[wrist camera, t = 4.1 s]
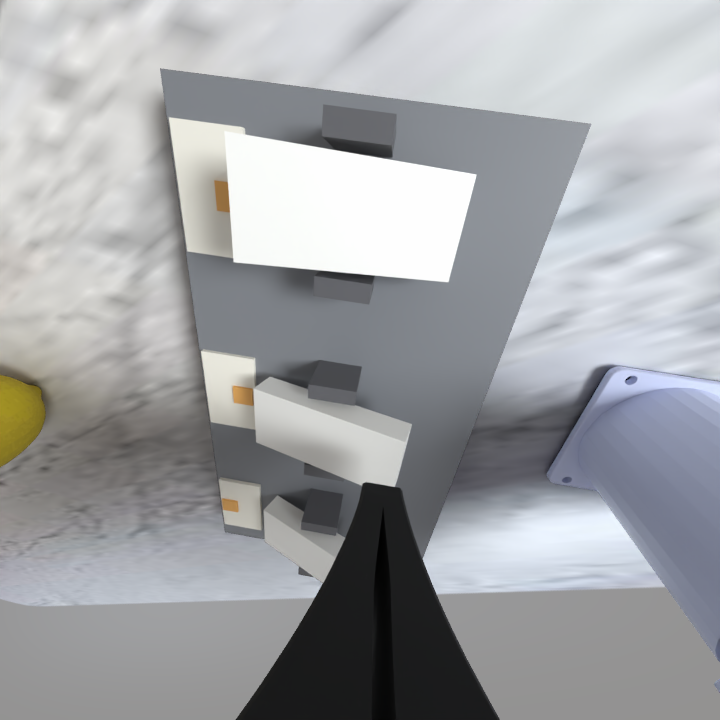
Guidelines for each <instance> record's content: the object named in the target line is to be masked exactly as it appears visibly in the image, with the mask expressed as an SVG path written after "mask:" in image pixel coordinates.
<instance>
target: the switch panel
mask: <svg viewBox="0 0 720 720" xmlns="http://www.w3.org/2000/svg"><path fill="white" fill-rule="evenodd" d="M160 71H161V79H162V86H163V93H164V100H165V107H166V114H167V121H168V129H169V136H170V143H171V150H172V157H173V164H174V171H175V179H176V186H177V193H178V200H179V207H180V214H181V221H182V228H183V236H184V243H185V250H186V257H187V264H188V271H189V278H190V286H191V293H192V300H193V307H194V314H195V321H196V328H197V336H198V343H199V350H200V357H201V364H202V371H203V378H204V386H205V393H206V400H207V407H208V414H209V421H210V428H211V435H212V443H213V450H214V457H215V464H216V471H217V478H218V485H219V493H220V500H221V507H222V514H223V521H224V528H225V532H228V533H233V534H238V535H244V536H249V537H255V538H260V539H265V532H264V509H265V508H266V507H267V506H268V505H269V504H270V503H271V502H272V501H273V500H274V499H275V497H276V496H277V495H278V496H279V497H281V498H283V499H284V500H286V501H287V502H289V503H291V504H292V505H294V506H295V507H297V508H298V509H300V510H302V511H303V512H304V514H303V518H302V521H301V530H306V531H311V532H317V533H322V534H328V535H333V536H336V533H338V534H340V535H341V536H343V537H346V535H347V532H348V530H349V527H350V525H351V523H352V520H353V517H354V515H355V512H356V509H357V506H358V502H359V499H360V494H361V488H362V486H361V485H359V484H356V483H354V482H352V481H349V480H347V479H344V478H342V477H339V476H337V475H335V474H332V473H330V472H327V471H325V470H322V469H320V468H317V467H315V466H313V465H310V464H308V463H305V462H303V461H300V460H298V459H296V458H293V457H291V456H288V455H286V454H283V453H281V452H278V451H276V450H274V449H271V448H269V447H266V446H264V445H261V444H259V443H257V442H256V429H255V409H254V389H253V388H255V387H256V386H258V385H259V384H260V383H262V382H263V381H264V380H266V379H267V378H269V377H273V378H276V379H279V380H282V381H285V382H288V383H291V384H294V385H297V386H300V387H303V388H306V389H308V398H309V399H315V400H321V401H327V402H333V403H339V404H346V405H352V406H355V405H356V406H359V407H362V408H365V409H368V410H371V411H374V412H377V413H380V414H383V415H386V416H389V417H392V418H395V419H398V420H401V421H404V422H407V423H410V424H412V426H411V430H410V434H409V438H408V441H407V445H406V449H405V453H404V457H403V460H402V464H401V468H400V472H399V476H398V479H397V482H396V485H395V487H398V488H400V489H401V490H402V492H403V497H404V501H405V506H406V510H407V513H408V517H409V520H410V524H411V527H412V530H413V533H414V537H415V540H416V542H417V545H418V548H419V551H420V554H421V557H422V559H423V556H424V553H425V551H426V548H427V546H428V543H429V541H430V538H431V535H432V533H433V530H434V528H435V525H436V523H437V520H438V517H439V515H440V512H441V510H442V507H443V505H444V502H445V499H446V497H447V494H448V492H449V489H450V487H451V484H452V481H453V479H454V476H455V474H456V471H457V469H458V466H459V463H460V461H461V458H462V456H463V453H464V451H465V448H466V445H467V443H468V440H469V438H470V435H471V432H472V430H473V427H474V425H475V422H476V420H477V417H478V414H479V412H480V409H481V407H482V404H483V402H484V399H485V396H486V394H487V391H488V389H489V386H490V384H491V381H492V378H493V376H494V373H495V371H496V368H497V366H498V363H499V360H500V358H501V355H502V353H503V350H504V348H505V345H506V342H507V340H508V337H509V335H510V332H511V330H512V327H513V324H514V322H515V319H516V317H517V314H518V312H519V309H520V306H521V304H522V301H523V299H524V296H525V294H526V291H527V288H528V286H529V283H530V281H531V278H532V276H533V273H534V270H535V268H536V265H537V263H538V260H539V258H540V255H541V252H542V250H543V247H544V245H545V242H546V240H547V237H548V234H549V232H550V229H551V227H552V224H553V222H554V219H555V216H556V214H557V211H558V209H559V206H560V203H561V201H562V198H563V196H564V193H565V191H566V188H567V185H568V183H569V180H570V178H571V175H572V173H573V170H574V167H575V165H576V162H577V160H578V157H579V155H580V152H581V149H582V147H583V144H584V142H585V139H586V137H587V134H588V131H589V129H590V126H591V124H588V123H580V122H572V121H565V120H557V119H549V118H541V117H533V116H526V115H518V114H510V113H502V112H494V111H487V110H479V109H471V108H463V107H456V106H448V105H440V104H432V103H424V102H417V101H409V100H401V99H393V98H386V97H378V96H370V95H362V94H354V93H347V92H339V91H331V90H323V89H315V88H308V87H300V86H292V85H284V84H277V83H269V82H261V81H253V80H245V79H238V78H230V77H222V76H214V75H207V74H199V73H191V72H183V71H175V70H168V69H160ZM224 131H227V132H233V133H239V134H245V135H250V136H256V137H262V138H268V139H273V140H279V141H285V142H291V143H296V144H302V145H308V146H314V147H320V148H325V149H331V150H337V151H343V152H348V153H354V154H360V155H366V156H371V157H377V158H383V159H389V160H395V161H400V162H406V163H412V164H418V165H423V166H429V167H435V168H441V169H446V170H452V171H458V172H464V173H470V174H475V175H476V179H475V183H474V186H473V190H472V194H471V198H470V202H469V205H468V209H467V213H466V217H465V221H464V225H463V228H462V232H461V236H460V240H459V244H458V247H457V251H456V255H455V259H454V263H453V267H452V270H451V274H450V278H449V282H439V281H429V280H418V279H407V278H396V277H386V276H375V275H364V274H354V273H343V272H332V271H322V270H311V269H300V268H290V267H279V266H268V265H258V264H247V263H236V262H234V261H233V247H232V232H231V218H230V204H229V190H228V175H227V161H226V147H225V132H224ZM299 575H305V576H310V577H313V576H312V575H311V574H309V573H308V572H306V571H305V570H304V569H302V568H301V567H299Z"/></svg>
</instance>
